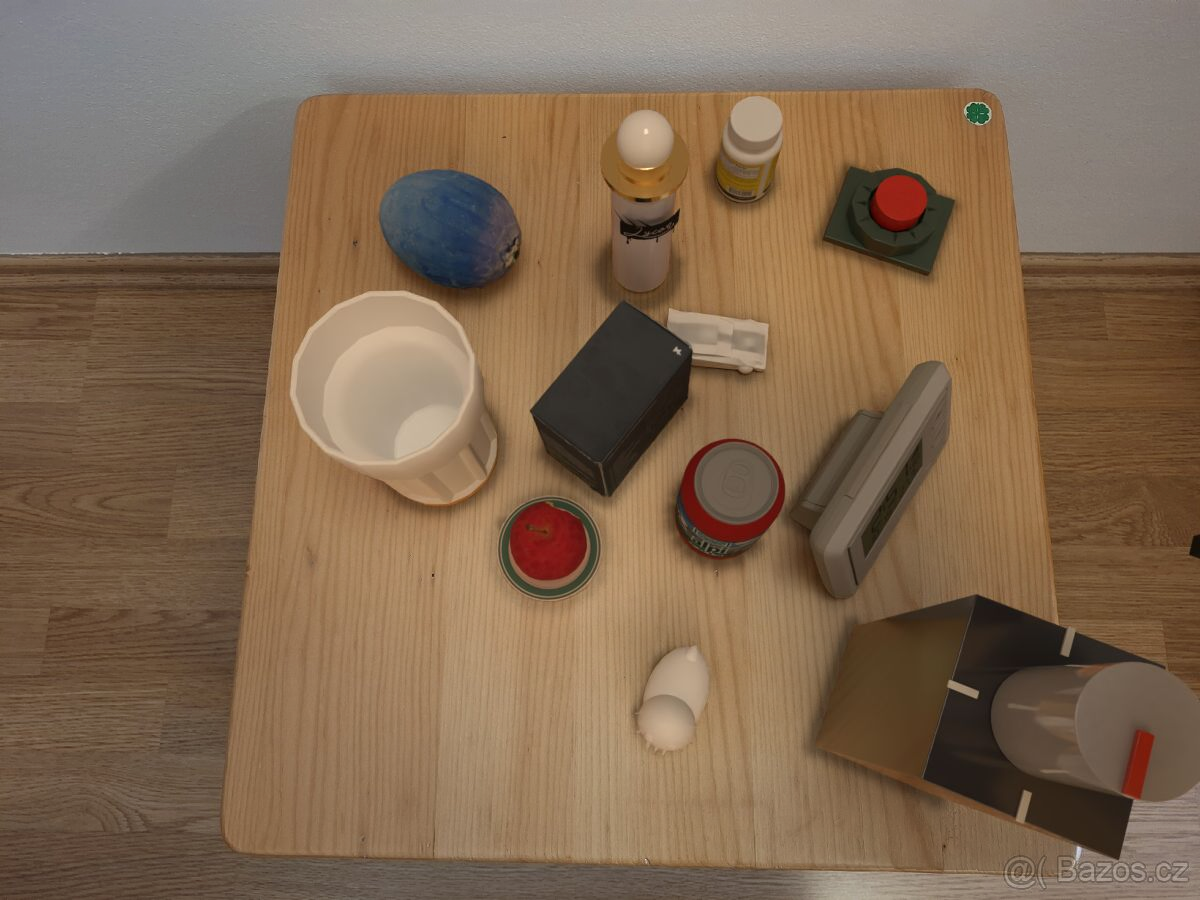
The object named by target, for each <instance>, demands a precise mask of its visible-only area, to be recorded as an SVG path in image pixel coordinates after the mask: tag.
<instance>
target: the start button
mask: <svg viewBox="0 0 1200 900" xmlns="http://www.w3.org/2000/svg"><path fill="white" fill-rule="evenodd" d="M926 204H927V194H926V191H925V189H924V188H923V186H922V185H921V184H920V183H919V182H918V181H917V180H915V179H913V178H911V177H908V176H903V175H896V176H892V177H889V178H887V179H885V180H884V181H883V182H882V183H881V184H880V185H879V187H878V188H877V190H876V192H875V194H874V196H873V198H872V201H871V205H870V210H871V214H872V216H873V218H874V220H875V221H876V222H877V223H878V224H879V225H880V226H881V227H883V228H885V229H888V230H891V231H903V230H906V229H908V228H910V227H912V226H913V225H914V224H915V223H916V222H917V221H918V219H919V217H920V216H921V214H922V213H923V211H924V209H925V207H926Z"/></svg>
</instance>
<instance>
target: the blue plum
mask: <svg viewBox="0 0 1200 900" xmlns="http://www.w3.org/2000/svg"><path fill="white" fill-rule="evenodd" d="M378 222H379V225H380V229H381V233H382V236H383V238H384V240H385V242H386V244H387V245H388V247H389V249H390V250H391V251H392V253H393V254H394V255H395V256H396V258H397V259H399V260H400V261H401V263H403V264H404V265H405V266H406V267H407V268H409V269H410V270H411V271H412V272H414V273H415V274H416V275H419V276H420V277H422V278H423V279H425V280H428V281H429V282H432V283H434V284H435V285H439V286H441V287H444V288H449V289H452V290H464V291H465V290H475V289H479V290H482V289H483V288H485V287H487V286H489V285H492V284H493V283H495V282H496V281H499V280H501V279H503V278H504V277H506V276H507V275H508V274H509V273H510V271H511V270H512V269H513V266H515V263H516V262H517V260H518V258H519V257H520V252H521V245H522V237H523V236H522V235H523V234H522V229H521V227H520V224H519V221H518V219H517V216H516V213H515V211H514V208H513V206H512V205H511V204H510V202H509V201H508V200H507V197H506V196H504V194H503V193H502V192H501V191H500V190H498V189H497V188H496V187H494V186H493V185H492V184H490V183H488V182H486V181H485V180H483V179H481V178H480V177H478V176H475V175H473V174H469V173H466V172H462V171H459V170H453V169H441V168H436V169H428V170H427V169H425V170H420V171H419V170H418V171H415V172H411V173H409V174H406V175H404V176H402V177H399V178H398V179H397V180H395V181H394V182H393V183H392V184H391V185H390V186H389V187H388V188H387V189H386V191H385V192H384V194H383V196H382V198H381V200H380V203H379V210H378ZM551 277H553V274H551Z"/></svg>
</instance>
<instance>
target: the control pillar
mask: <svg viewBox="0 0 1200 900" xmlns="http://www.w3.org/2000/svg"><path fill="white" fill-rule="evenodd" d="M1114 662H1142V663H1148V664H1152V665H1155V666H1158V667H1160V668H1162V669H1165V670H1166V665H1164V664H1161V663H1159V662H1155V661H1153V660H1150V659H1147V658H1145V657H1142V656H1140V655H1137V654H1135V653H1132V652H1129V651H1128V650H1127V651H1126V650H1124V649H1121V648H1119V647H1117V646H1114V645H1111V644H1109V643H1106V642H1103V641H1101V640H1098V639H1095V638H1093V637H1090V636H1087V635H1085V634H1082V633H1080V632H1078V631H1077V628H1076V627H1073V626H1070V625H1067V626H1066V627H1064V626H1061V625H1059V624H1056V623H1054V622H1052V621H1049V620H1046V619H1043V618H1041V617H1038V616H1036V615H1033V614H1030V613H1027V612H1026V611H1022V610H1020V609H1017V608H1014V607H1012V606H1010V605H1007V604H1004V603H1001V602H999V601H996V600H995V599H991V598H989V597H986V596H984V595H981V594H978V593H975V594H972V595H967V596H963V597H961V598H957V599H953V600H952V599H951V600H949V601H945V602H942V603H937V604H934V605H930V606H926V607H921V608H918V609H915V610H911V611H907V612H903V613H899V614H896V615H892V616H888V617H884V618H880V619H876V620H873V621H868V622H866V623H865V622H864V623H862V624H857V625H854V626H852V629H851V632H850V635H849V637H848V640H847V644H846V647H845V650H844V653H843V656H842V659H841V663H840V665H839V669H838V671H837V675H836V678H835V680H834V684H833V687H832V690H831V693H830V695H829V699H828V702H827V705H826V708H825V711H824V714H823V717H822V720H821V723H820V726H819V729H818V732H817V735H816V738H815V741H814V744H813V746H815V747H817V748H820V749H822V750H823V751H826V752H830V753H831V754H834V755H837V756H838V757H841V758H843V759H846V760H848V761H851V762H853V763H855V764H858V765H861V766H863V767H866V768H868V769H870V770H873V771H875V772H878V773H880V774H882V775H884V776H887V777H889V778H892V779H894V780H897V781H899V782H901V783H904V784H906V785H908V786H911V787H914V788H916V789H918V790H921V791H923V792H926V793H927V794H930V795H933V796H935V797H938V798H941V799H942V800H943V799H944V800H946V801H950V802H952V803H954V804H958V805H961V806H964V807H966V808H969V809H972V810H974V811H977V812H979V813H982V814H985V815H988V816H991V817H994V818H996V819H1000V820H1002V821H1006V822H1008V823H1011V824H1014V825H1017V826H1020V827H1022V828H1025V829H1028V830H1031V831H1034V832H1036V833H1039V834H1042V835H1045V836H1047V837H1051V838H1053V839H1056V840H1058V841H1061V842H1065V843H1066V844H1069V845H1074V846H1076V847H1079V848H1081V849H1084V850H1087V851H1089V852H1092V853H1096V854H1098V855H1101V856H1104V857H1106V858H1110V859H1112V860H1114V861H1120V858H1121V854H1122V849H1123V846H1124V841H1125V838H1126V833H1127V829H1128V826H1129V821H1130V816H1131V812H1132V807H1133V804H1134V801H1135V800H1133V799H1128V798H1124V797H1119V796H1115V795H1110V794H1106V793H1102V792H1097V791H1093V790H1088V789H1084V788H1079V787H1075V786H1070V785H1066V784H1061V783H1057V782H1053V781H1048V780H1044V779H1039V778H1036V777H1033V776H1031V775H1029V774H1027V773H1025V772H1023V771H1021V770H1020V769H1018V768H1017V767H1016V766H1015V765H1013V764H1012V763H1011V762H1010V761H1009V760H1008V759H1007V757H1006V756H1005V755H1004V754H1003V752H1002V751H1001V749H1000V747H999V746H998V744H997V742H996V739H995V737H994V734H993V730H992V725H991V707H992V702H993V699H994V696H995V694H996V692H997V690H998V688H999V687H1000V685H1001V684H1002V683H1003V682H1004V681H1005V680H1006V679H1007V678H1008V677H1009V676H1010V675H1012V674H1013V673H1015V672H1017V671H1019V670H1021V669H1024V668H1028V667H1034V666H1051V665H1072V664H1093V663H1114Z"/></svg>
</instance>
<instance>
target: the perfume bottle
mask: <svg viewBox="0 0 1200 900" xmlns="http://www.w3.org/2000/svg"><path fill="white" fill-rule="evenodd" d="M689 154H690V153H689V149H688V147H687V144H686V142H685V139H683V137H682V136H681V134H680V133H679V132H677V131H676V130H675V129H674V128H673V127H672V124H671V122H670V121H669V120H668V119H667V118H666V117H665V115H663V114H662V113H660V112H659V111H656V110H654V109H649V108H643V109H638V110H634V111H632V112H631V113H630V114H628V115H627V116H626V117H624V119H623V120H622V121H621V123H620V124H619V126H618V127H616V129H615V130H613V131H612V132H611V133H610V134H609V135H608V137H606V139H605V141H604V143H603V144H602V147H601V151H600V158H599V163H600V173H601V175H602V178H603V180H604V182H605V183H606V185H607V187H608V188H609V189H610V190H609V191H610V217H611V221H610V222H611V244H612V245H611V249H612V250H611V251H612V271H613V274H614V277H615V279H616V281H617V282H618V283H619V284H620V285H621V286H622V287H624V289H627V290H629V291H631V292H636V293H645V292H650V291H653V290H654V289H656V288H658V287H659V286H660V285H662V284H663V283H664V282H665V280H666V278H667V276H668V273H669V268H670V258H671V257H670V256H671V249H672V239H673V238H672V237H673V234H674V233H675V227H676V225H678V223H679V220H680V212H681V207H679V208H678V210H676V209H675V208H676V199H677V190H679V189H680V187H681V186H682V185H683V183H684V181H685V180H686V178H687V175H688V172H689V164H690V155H689ZM675 210H676V211H675Z"/></svg>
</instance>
